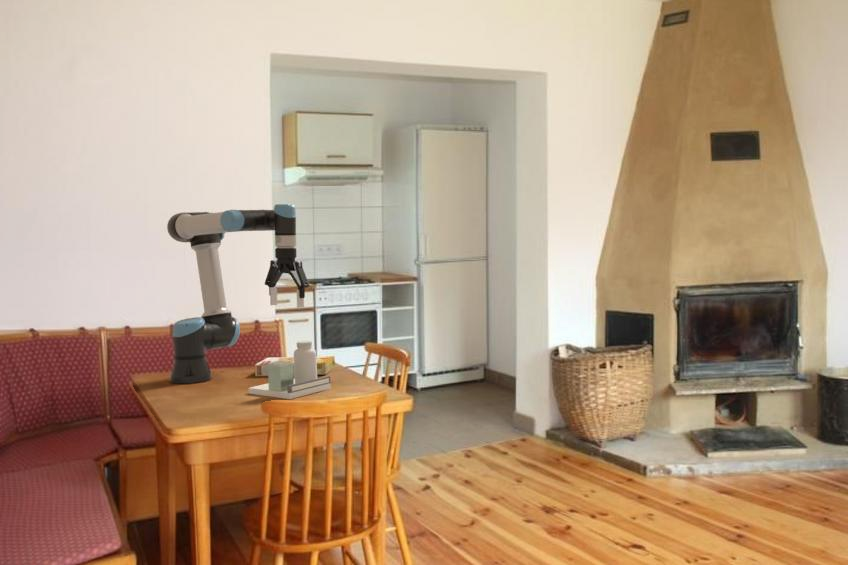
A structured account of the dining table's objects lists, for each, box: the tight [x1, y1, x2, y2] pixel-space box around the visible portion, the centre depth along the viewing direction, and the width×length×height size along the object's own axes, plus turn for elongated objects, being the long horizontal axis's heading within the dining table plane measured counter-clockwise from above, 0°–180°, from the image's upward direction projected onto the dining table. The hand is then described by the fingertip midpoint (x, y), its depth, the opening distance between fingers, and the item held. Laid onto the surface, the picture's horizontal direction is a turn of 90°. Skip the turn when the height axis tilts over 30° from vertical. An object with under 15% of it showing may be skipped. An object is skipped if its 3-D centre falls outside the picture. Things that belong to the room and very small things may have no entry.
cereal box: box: [254, 355, 336, 377], centre depth 328 cm, size 20×6×28 cm
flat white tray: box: [248, 375, 332, 400], centre depth 288 cm, size 20×20×4 cm
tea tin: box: [267, 360, 295, 391], centre depth 282 cm, size 6×6×9 cm
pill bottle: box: [293, 340, 318, 384], centre depth 290 cm, size 8×8×15 cm
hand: (286, 306), depth 298 cm, fingers open, 13 cm apart
